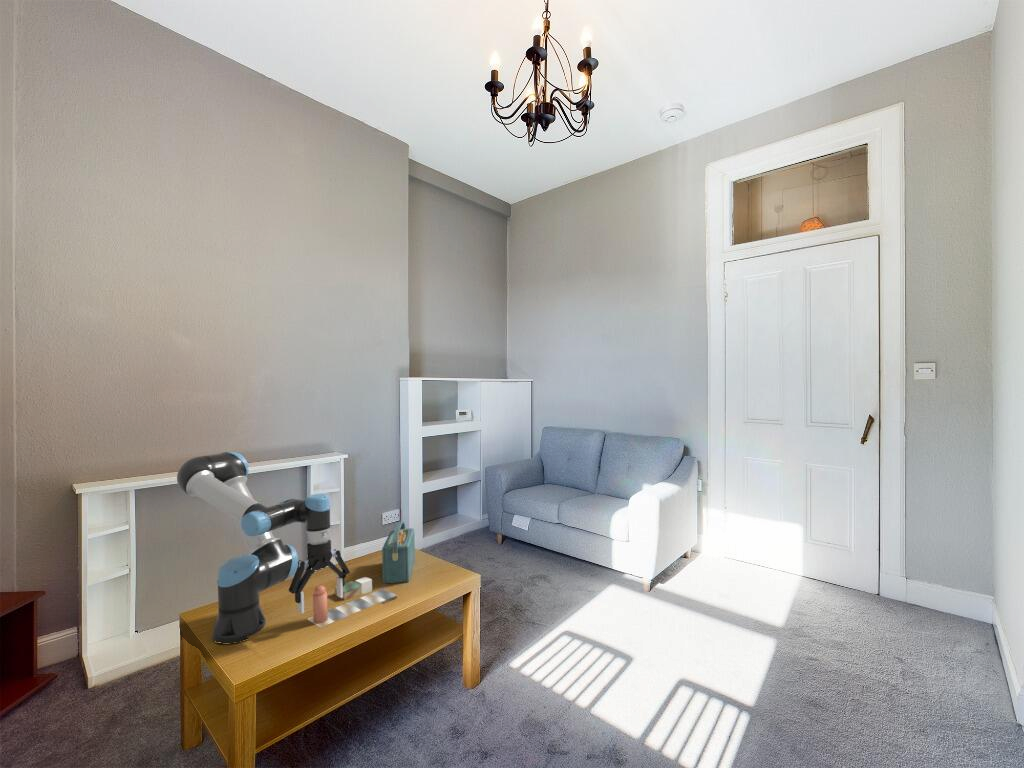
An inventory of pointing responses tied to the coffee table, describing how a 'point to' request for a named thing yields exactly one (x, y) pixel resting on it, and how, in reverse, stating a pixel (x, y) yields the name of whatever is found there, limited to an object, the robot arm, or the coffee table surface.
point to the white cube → (365, 584)
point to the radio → (398, 555)
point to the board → (356, 606)
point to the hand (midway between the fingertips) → (321, 604)
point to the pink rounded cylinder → (320, 605)
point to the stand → (350, 590)
